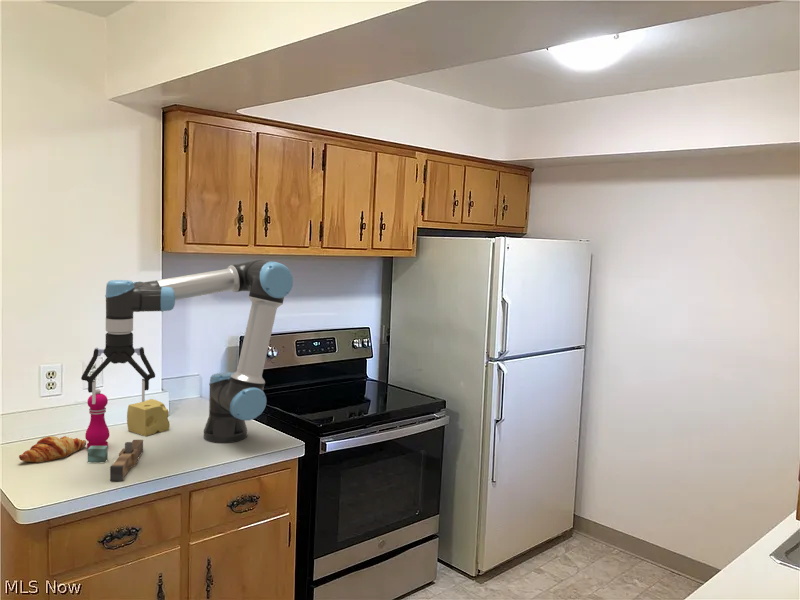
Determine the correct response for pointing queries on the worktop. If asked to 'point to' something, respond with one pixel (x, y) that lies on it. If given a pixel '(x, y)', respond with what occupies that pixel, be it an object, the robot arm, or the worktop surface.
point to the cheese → (147, 417)
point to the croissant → (52, 449)
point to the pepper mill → (97, 421)
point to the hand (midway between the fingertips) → (118, 401)
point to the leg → (123, 464)
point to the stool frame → (102, 451)
